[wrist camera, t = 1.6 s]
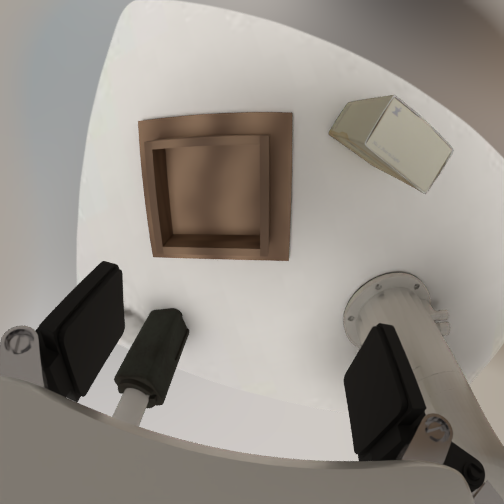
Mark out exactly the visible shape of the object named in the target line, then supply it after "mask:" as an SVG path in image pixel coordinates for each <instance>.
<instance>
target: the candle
mask: <svg viewBox="0 0 504 504" xmlns="http://www.w3.org/2000/svg"><path fill="white" fill-rule="evenodd" d="M188 335H189V329H187V328H186V325H185V323H184V321H183V319H182V314H181V312H180V311H178V310H177V309H163V310H154V311H152V312H151V313H150V314H149V316H148V318H147V320H146V321H145V323H144V325H143V327H142V328H141V330H140V332H139V334H138V335H137V337H136V339H135V341H134V343H133V344H132V346H131V348H130V350H129V352H128V353H127V355H126V357H125V359H124V361H123V363H122V364H121V366H120V368H119V370H118V372H117V374H116V376H115V378H114V380H115V383H116V384H117V385H118V391H119V393H123V395H122V397H121V400H120V401H119V404H118V406H117V408H116V410H115V412H114V414H113V418H116V419H118V420H121V421H124V422H127V423H129V424H132V425H135V426H138V427H139V425H140V422H141V419H142V417H143V414H144V412H145V409H146V408H152V407H154V406H155V405H162V404H163V403H164V400H165V398H166V395H167V392H168V389H169V386H170V384H171V381H172V378H173V375H174V372H175V370H176V367H177V364H178V362H179V359H180V356H181V353H182V351H183V348H184V345H185V343H186V340H187V337H188Z"/></svg>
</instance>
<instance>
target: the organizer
mask: <svg viewBox="0 0 504 504" xmlns="http://www.w3.org/2000/svg"><path fill="white" fill-rule="evenodd" d="M138 128H139V144H140V157H141V168H142V178H143V188H144V196H145V205H146V213H147V220H148V227H149V234H150V241H151V247H152V253H153V257H165V258H199V259H235V260H275V261H289V242H290V215H291V181H292V113H282V112H246V113H218V114H202V115H189V116H178V117H168V118H160V119H152V120H144V121H138Z"/></svg>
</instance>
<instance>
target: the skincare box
mask: <svg viewBox="0 0 504 504" xmlns="http://www.w3.org/2000/svg"><path fill="white" fill-rule="evenodd" d="M329 135H330V136H332V137H333V138H335V139H336V140H337V141H339V142H340V143H342V144H343V145H344V146H346V147H347V148H349V149H350V150H351V151H353V152H354V153H356V154H357V155H358V156H360V157H361V158H363V159H364V160H365V161H367V162H368V163H370V164H371V165H372V166H374V167H376V168H378V169H380V170H382V171H384V172H386V173H387V174H389V175H391V176H393V177H395V178H397V179H399V180H401V181H403V182H404V183H406V184H408V185H410V186H412V187H414V188H415V189H417V190H419V191H421V192H422V193H424V194H426V193H427V192H428V191H429V189H430V188H431V186H432V185H433V183H434V182H435V180H436V179H437V177H438V176H439V174H440V173H441V171H442V170H443V168H444V167H445V165H446V163H447V162H448V160H449V158H450V157H451V155H452V153H453V151H454V150H453V148H452V147H451V145H450V144H449V143H448V142H447V141H446V140H445V139H444V138H443V137H442V136H441V135H440V134H439V133H438V132H437V131H436V130H435V129H434V128H433V127H432V126H431V125H430V124H429V123H428V122H427V121H426V120H424V119H423V118H422V117H421V116H420V115H419V114H418V113H416V112H415V111H414V110H413V109H412V108H410V107H409V106H408V105H407V104H405V103H404V102H403V101H402V100H400V99H399V98H398V97H397V96H395V95H390V96H384V97H377V98H371V99H365V100H359V101H353V102H349V103H348V104H347V105H346V106H345V108H344V109H343V111H342V112H341V114H340V115H339V117H338V119H337V120H336V122H335V123H334V125H333V127H332V128H331V130H330V132H329Z"/></svg>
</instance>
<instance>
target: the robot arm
mask: <svg viewBox="0 0 504 504" xmlns="http://www.w3.org/2000/svg"><path fill="white" fill-rule="evenodd" d="M448 316H449V314H448V310H438V311H435V310H434V309H433V308H432V307H431V299H430V295H429V292H428V290H427V288H426V286H425V285H424V284H423V283H422V281H420V280H419V279H418V278H417V277H415V276H413V275H411V274H406V273H390V274H385V275H382V276H379V277H377V278H375V279H373V280H371V281H369V282H368V283H366V284H365V285H364V286H362V287H361V288H360V289H359V290H358V291H357V292H356V293H355V294H354V295H353V297H352V298H351V300H350V301H349V303H348V305H347V307H346V309H345V313H344V328H345V332H346V334H347V337H348V338H349V340H350V341H351V342H352V343H353V344H354V345H355V346H357V347H359V348H360V350H359V352H358V353H357V355H356V357H355V359H354V360H353V362H352V364H351V365H350V367H349V369H348V370H347V372H346V374H345V376H344V386H345V392H346V398H347V404H348V411H349V417H350V424H351V430H352V438H353V445H354V452H355V453H356V454H358V458H359V461H315V460H299V459H288V458H278V457H269V456H261V455H255V454H248V453H242V452H236V451H230V450H225V449H220V448H215V447H210V446H205V445H202V444H197V443H193V442H189V441H185V440H181V439H178V438H174V437H170V436H167V435H163V434H160V433H157V432H153V431H150V430H147V429H144V428H141V427H138V426H135V425H132V424H129V423H127V422H124V421H121V420H118V419H116V418H113V417H111V416H108V415H106V414H103V413H101V412H98V411H96V410H93V409H91V408H88V407H86V406H83V405H81V404H79V403H77V402H78V400H79V398H80V397H81V396H83V397H84V396H85V395H86V394H87V392H88V390H89V389H90V387H91V385H92V383H93V382H94V380H95V378H96V377H97V375H98V373H99V372H100V370H101V368H102V367H103V365H104V363H105V362H106V360H107V358H108V357H109V355H110V353H111V352H112V350H113V349H114V347H115V345H116V344H117V342H118V341H119V339H120V338H121V336H122V334H123V332H124V329H125V320H124V304H123V280H122V270H120V269H119V267H118V265H117V264H113V263H109V262H106V261H103V262H101V263H100V264H99V265H98V266H97V267H96V268H95V269H94V270H93V271H92V272H91V273H90V274H89V275H88V276H86V277H85V278H84V279H83V280H82V281H81V282H80V283H79V284H78V285H77V286H76V287H75V288H74V289H73V290H72V291H71V292H70V293H69V294H68V295H67V297H65V298H64V300H63V301H62V302H61V303H60V304H59V305H58V306H57V307H56V308H55V309H54V310H53V311H52V312H51V313H50V314H49V315H48V316H47V317H46V319H45V320H44V321H43V322H42V323H41V324H40V325H39V327H38V329H36V331H35V330H34V329H32V328H31V327H27V326H16V327H13V328H11V329H9V330H8V331H7V332H5V333H4V335H3V337H2V338H1V342H0V504H504V446H503V445H502V443H501V442H500V440H499V438H498V437H497V435H496V434H495V432H494V430H493V429H492V427H491V425H490V423H489V422H488V420H487V418H486V417H485V415H484V413H483V411H482V409H481V407H480V405H479V403H478V402H477V399H476V398H475V396H474V394H473V392H472V390H471V388H470V386H469V384H468V382H467V380H466V378H465V376H464V374H463V372H462V371H461V369H460V367H459V365H458V363H457V361H456V359H455V357H454V356H453V354H452V352H451V350H450V348H449V347H448V345H447V343H446V341H445V339H444V338H443V336H444V335H448V334H449V332H450V324H449V323H448V322H440V323H436V324H435V323H434V321H435V320H446V319H448ZM66 397H67V398H66ZM68 398H69V399H68ZM70 399H71V400H70ZM72 400H73V401H72Z"/></svg>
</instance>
